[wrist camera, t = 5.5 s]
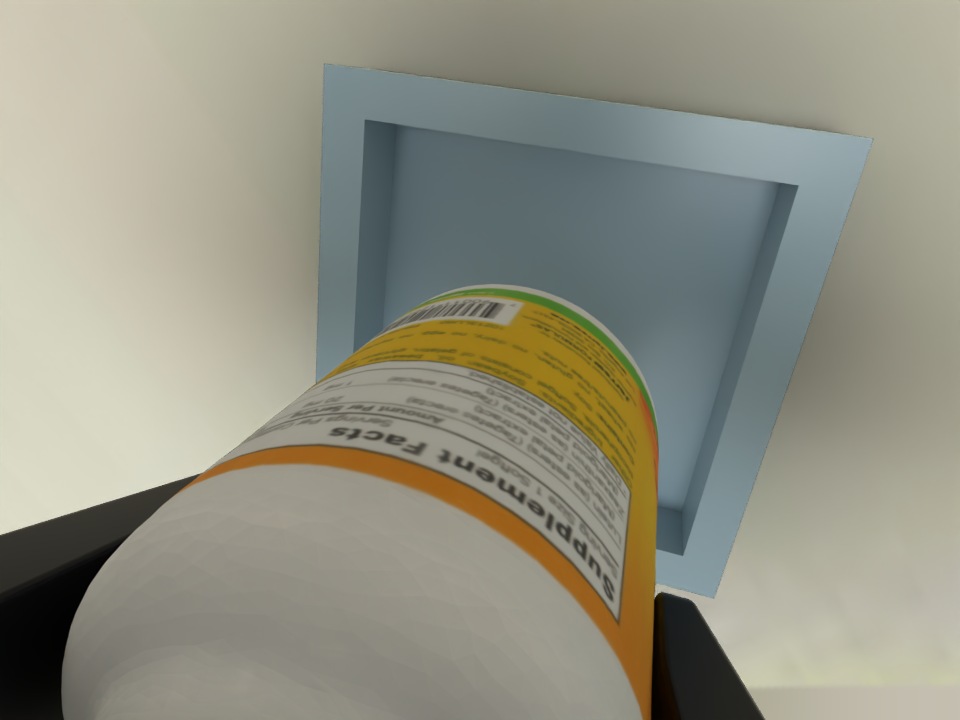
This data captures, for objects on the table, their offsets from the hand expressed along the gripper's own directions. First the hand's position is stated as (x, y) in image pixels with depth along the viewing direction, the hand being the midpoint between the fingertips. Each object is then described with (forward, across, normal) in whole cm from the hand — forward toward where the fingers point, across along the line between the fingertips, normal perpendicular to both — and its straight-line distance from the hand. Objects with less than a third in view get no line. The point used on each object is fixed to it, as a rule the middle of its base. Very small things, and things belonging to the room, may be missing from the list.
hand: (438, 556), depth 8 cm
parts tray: (+10, 0, 0) cm, 10 cm away
